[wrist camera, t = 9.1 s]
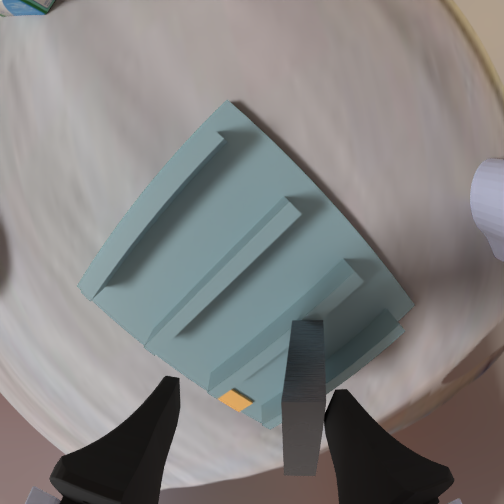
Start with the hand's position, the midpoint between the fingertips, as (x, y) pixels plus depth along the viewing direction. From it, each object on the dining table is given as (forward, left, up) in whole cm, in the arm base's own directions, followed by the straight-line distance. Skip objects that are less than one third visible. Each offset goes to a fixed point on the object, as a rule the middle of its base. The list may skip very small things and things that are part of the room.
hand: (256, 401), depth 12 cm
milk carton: (+38, -9, -10) cm, 40 cm away
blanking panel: (-5, 0, -6) cm, 8 cm away
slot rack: (+1, 0, -10) cm, 10 cm away
